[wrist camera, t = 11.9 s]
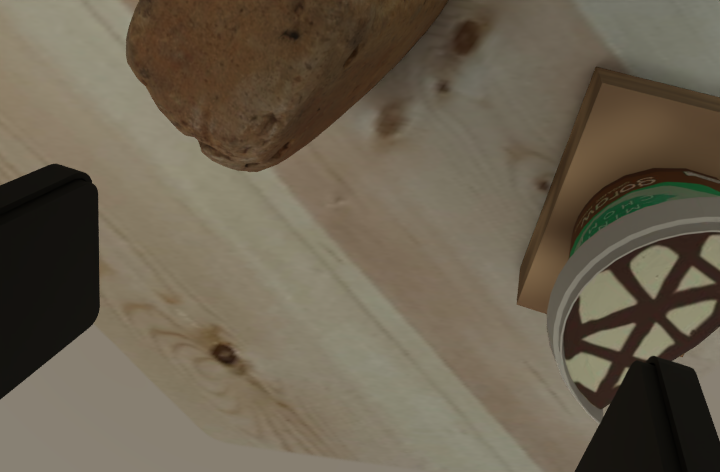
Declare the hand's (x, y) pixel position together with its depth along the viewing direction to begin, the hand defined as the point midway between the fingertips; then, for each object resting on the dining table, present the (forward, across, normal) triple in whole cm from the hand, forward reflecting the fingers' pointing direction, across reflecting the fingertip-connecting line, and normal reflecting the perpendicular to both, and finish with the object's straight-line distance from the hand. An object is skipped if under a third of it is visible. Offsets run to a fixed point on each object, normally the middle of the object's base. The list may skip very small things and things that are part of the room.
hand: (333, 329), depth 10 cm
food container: (+26, -10, +6) cm, 28 cm away
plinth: (+30, -11, +6) cm, 33 cm away
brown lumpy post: (+31, +8, -1) cm, 32 cm away
